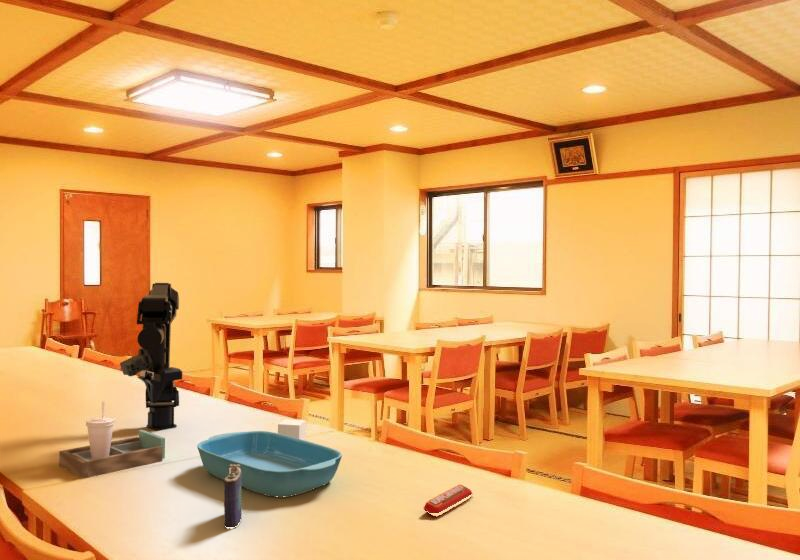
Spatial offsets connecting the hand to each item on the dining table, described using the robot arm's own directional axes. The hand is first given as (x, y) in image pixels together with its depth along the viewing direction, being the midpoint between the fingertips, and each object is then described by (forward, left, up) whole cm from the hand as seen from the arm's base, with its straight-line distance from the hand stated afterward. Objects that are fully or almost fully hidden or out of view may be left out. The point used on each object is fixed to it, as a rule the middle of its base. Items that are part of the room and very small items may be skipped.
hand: (153, 403), depth 177 cm
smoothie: (+17, +7, -10) cm, 21 cm away
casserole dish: (-6, +42, -12) cm, 44 cm away
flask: (+14, +59, -12) cm, 61 cm away
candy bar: (-21, +83, -12) cm, 86 cm away
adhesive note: (-28, +23, -12) cm, 38 cm away
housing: (+15, +8, -11) cm, 20 cm away
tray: (+13, +8, -11) cm, 19 cm away
